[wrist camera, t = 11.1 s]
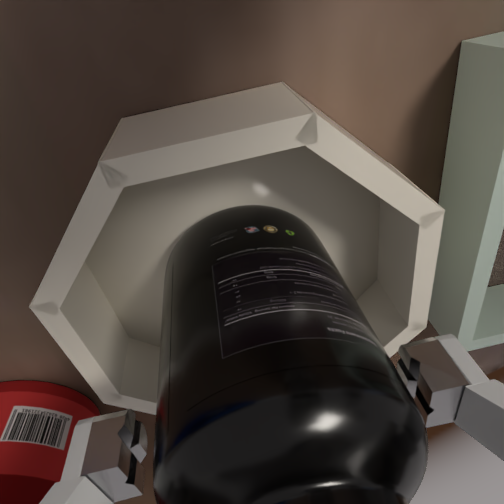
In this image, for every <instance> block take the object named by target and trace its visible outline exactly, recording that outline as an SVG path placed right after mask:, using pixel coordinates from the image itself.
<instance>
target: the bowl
mask: <svg viewBox="0 0 504 504" xmlns="http://www.w3.org/2000/svg"><path fill="white" fill-rule="evenodd" d="M243 205H264V206H270V207H275V208H279V209H282V210H284V211H287V212H289V213H291V214H293V215H295V216H297V217H298V218H300V219H301V220H303V221H304V222H305V223H306V224H307V225H308V226H309V227H310V228H311V229H312V230H313V231H314V232H315V234H316V235H317V236H318V238H319V239H320V241H321V242H322V244H323V246H324V247H325V249H326V250H327V252H328V254H329V255H330V257H331V259H332V261H333V262H334V264H335V266H336V267H337V269H338V271H339V272H340V274H341V276H342V278H343V279H344V281H345V283H346V284H347V286H348V288H349V290H350V291H351V293H352V295H353V296H354V298H355V300H356V301H357V303H358V305H359V307H360V308H361V310H362V312H363V313H364V315H365V317H366V319H367V320H368V322H369V324H370V325H371V327H372V329H373V330H374V332H375V334H376V336H377V337H378V339H379V341H380V342H381V344H382V346H383V348H384V349H385V351H386V353H387V354H388V356H389V358H390V357H391V356H392V355H394V354H395V353H396V352H397V351H398V350H399V347H400V345H403V344H407V343H408V342H409V341H411V340H412V339H413V338H414V337H415V336H417V335H418V334H419V333H420V332H421V331H423V330H424V329H425V328H426V327H427V320H428V313H429V307H430V301H431V294H432V288H433V282H434V275H435V269H436V263H437V256H438V250H439V244H440V238H441V231H442V225H443V219H444V212H445V209H443V208H442V207H441V206H440V205H439V204H437V203H436V202H435V201H434V200H433V199H432V198H430V197H429V196H428V195H427V194H426V193H424V192H423V191H422V190H421V189H420V188H418V187H417V186H416V185H415V184H414V183H413V182H411V181H410V180H409V179H408V178H407V177H405V176H404V175H403V174H402V173H401V172H400V171H398V170H397V169H396V168H395V167H394V166H392V165H391V164H390V163H388V162H386V161H385V160H384V159H383V158H381V157H380V156H379V155H377V154H376V153H375V152H373V151H372V150H371V149H369V148H368V147H367V146H366V145H364V144H363V143H362V142H360V141H359V140H358V139H356V138H355V137H354V136H352V135H351V134H350V133H349V132H347V131H346V130H345V129H343V128H342V127H341V126H339V125H338V124H337V123H335V122H334V121H333V120H331V119H330V118H329V117H328V116H326V115H325V114H324V113H322V112H321V111H320V110H318V109H317V108H316V107H314V106H313V105H312V104H311V103H309V102H308V101H307V100H305V99H304V98H303V97H301V96H300V95H299V94H297V93H296V92H295V91H294V90H292V89H291V88H290V87H288V86H287V85H286V84H285V83H284V82H282V81H281V82H279V83H274V84H270V85H266V86H261V87H257V88H253V89H248V90H244V91H239V92H235V93H231V94H226V95H222V96H217V97H213V98H209V99H204V100H200V101H196V102H191V103H187V104H182V105H178V106H174V107H169V108H165V109H160V110H156V111H152V112H147V113H143V114H138V115H134V116H130V117H125V118H123V117H122V118H121V119H120V121H119V123H118V125H117V127H116V129H115V131H114V133H113V134H112V136H111V138H110V140H109V142H108V144H107V146H106V148H105V149H104V151H103V153H102V155H101V157H100V159H99V161H98V165H97V167H96V169H95V171H94V173H93V175H92V178H91V180H90V182H89V184H88V186H87V188H86V190H85V192H84V194H83V196H82V198H81V201H80V203H79V205H78V207H77V209H76V211H75V213H74V215H73V217H72V219H71V222H70V224H69V226H68V228H67V230H66V232H65V234H64V236H63V238H62V240H61V242H60V245H59V247H58V249H57V251H56V253H55V255H54V257H53V259H52V261H51V263H50V265H49V268H48V270H47V272H46V274H45V276H44V278H43V280H42V282H41V284H40V286H39V288H38V290H37V292H36V294H35V296H34V298H33V299H32V301H31V303H30V305H29V308H30V309H31V310H32V311H33V312H34V314H35V315H36V316H37V318H38V319H39V320H40V322H41V323H42V324H43V325H44V327H45V328H46V329H47V331H48V332H49V333H50V334H51V336H52V337H53V338H54V340H55V341H56V342H57V344H58V345H59V346H60V347H61V349H62V350H63V351H64V353H65V354H66V355H67V357H68V358H69V359H70V360H71V362H72V363H73V364H74V366H75V367H76V368H77V370H78V371H79V372H80V373H81V375H82V376H83V377H84V379H85V380H86V381H87V383H88V384H89V385H90V386H91V388H92V389H93V390H94V392H95V393H96V394H97V395H98V397H99V398H100V399H101V401H102V402H103V403H104V404H108V405H113V406H117V407H122V408H126V409H132V410H135V411H140V412H144V413H149V414H153V415H156V407H157V390H158V373H159V356H160V339H161V322H162V305H163V290H164V278H165V271H166V266H167V262H168V259H169V256H170V254H171V252H172V250H173V248H174V246H175V245H176V243H177V242H178V241H179V239H180V238H181V237H182V236H183V234H184V233H185V232H186V231H187V230H188V229H190V228H191V227H192V226H193V225H194V224H196V223H197V222H199V221H200V220H202V219H203V218H205V217H207V216H209V215H211V214H213V213H215V212H218V211H220V210H224V209H227V208H231V207H236V206H243Z"/></svg>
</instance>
